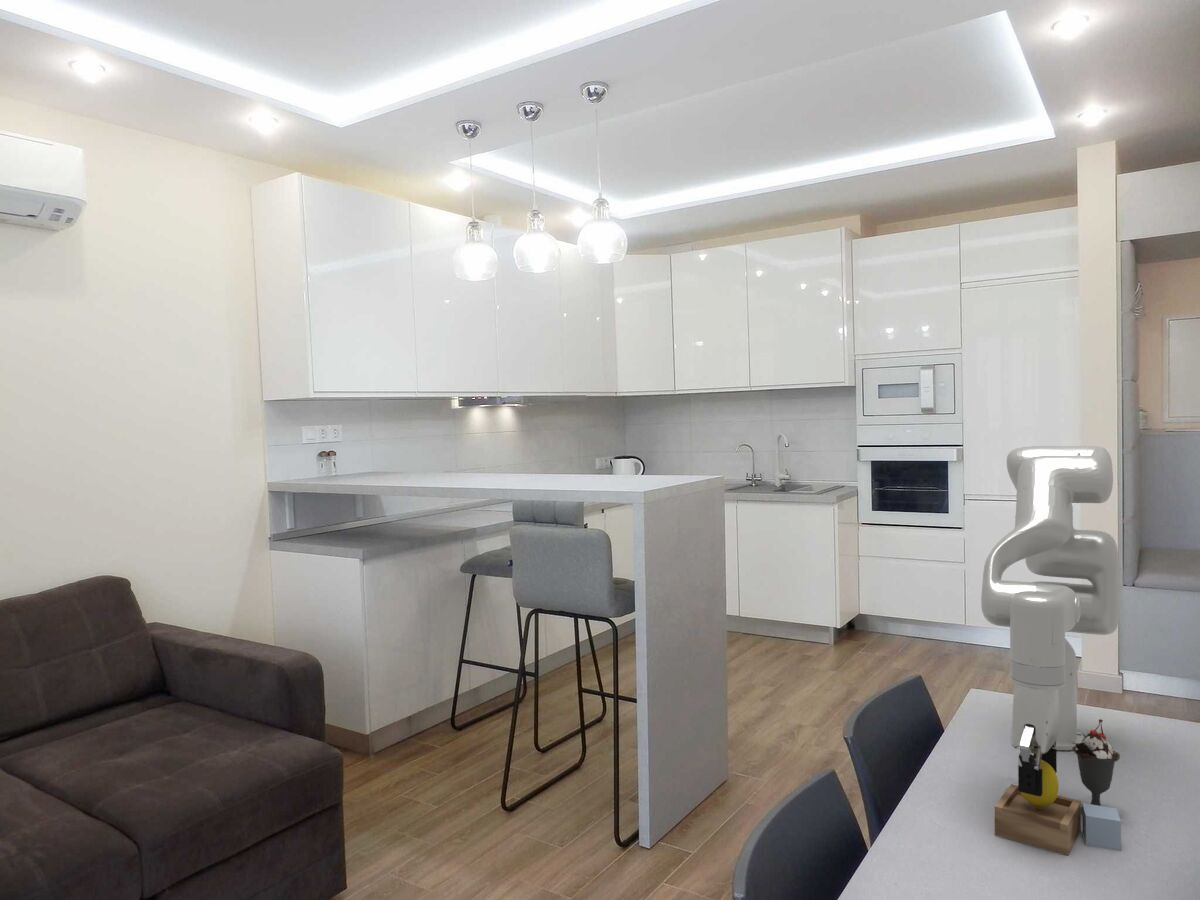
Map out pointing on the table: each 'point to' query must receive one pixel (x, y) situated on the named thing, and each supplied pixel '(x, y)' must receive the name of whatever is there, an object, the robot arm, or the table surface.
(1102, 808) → the slate cube
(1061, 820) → the wooden open box
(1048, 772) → the lemon
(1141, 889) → the table surface
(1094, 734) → the sundae
